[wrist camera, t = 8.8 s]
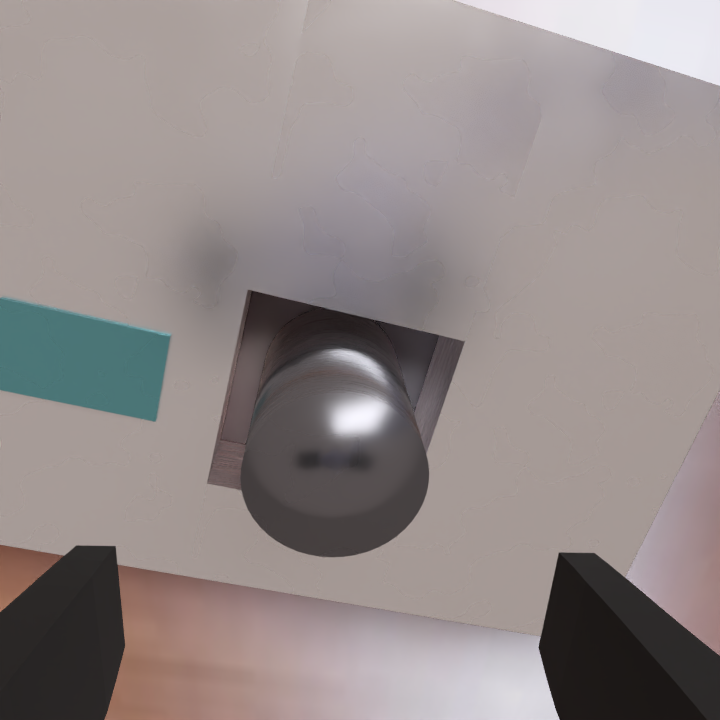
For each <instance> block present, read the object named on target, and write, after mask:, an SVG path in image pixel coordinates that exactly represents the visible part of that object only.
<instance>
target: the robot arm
mask: <svg viewBox="0 0 720 720" xmlns="http://www.w3.org/2000/svg"><path fill="white" fill-rule="evenodd" d="M124 648H125V640H124V630H123V619H122V608H121V597H120V587H119V576H118V565H117V555H116V546H81V545H76V546H75V547H74V548H73V549H72V550H70V551H69V552H68V553H67V554H66V555H65V556H63V557H62V558H61V559H60V560H59V561H58V562H56V563H55V564H54V565H53V566H52V567H51V568H50V569H49V570H47V571H46V572H45V573H44V574H43V575H42V576H41V577H40V578H38V579H37V580H36V581H35V582H34V583H33V584H32V585H31V586H29V587H28V588H27V589H26V590H25V591H24V592H23V593H22V594H20V595H19V596H18V597H17V598H16V599H15V600H14V601H13V602H11V603H10V604H9V605H8V606H7V607H6V608H5V609H4V610H2V611H1V612H0V720H104V719H105V716H106V714H107V711H108V707H109V704H110V700H111V697H112V693H113V690H114V686H115V682H116V679H117V675H118V671H119V667H120V663H121V660H122V656H123V652H124ZM539 650H540V654H541V658H542V662H543V666H544V669H545V673H546V677H547V681H548V684H549V688H550V691H551V695H552V698H553V701H554V705H555V708H556V711H557V714H558V716H559V719H560V720H720V656H719V655H718V654H717V653H715V652H714V651H713V650H712V649H710V648H709V647H708V646H707V645H705V644H704V643H703V642H702V641H700V640H699V639H698V638H697V637H695V636H694V635H693V634H692V633H691V632H689V631H688V630H687V629H686V628H684V627H683V626H682V625H681V624H680V623H678V622H677V621H676V620H675V619H674V618H672V617H671V616H670V615H669V614H668V613H666V612H665V611H664V610H663V609H662V608H660V607H659V606H658V605H657V604H656V603H655V602H653V601H652V600H651V599H650V598H649V597H647V596H646V595H645V594H644V593H643V592H642V591H640V590H639V589H638V588H637V587H636V586H634V585H633V584H632V583H631V582H630V581H628V580H627V579H626V578H625V577H624V576H623V575H621V574H620V573H619V572H618V571H617V570H615V569H614V568H613V567H612V566H610V565H609V564H608V563H607V562H605V561H604V560H603V559H602V558H600V557H599V556H598V555H596V554H595V553H565V552H559V554H558V558H557V563H556V568H555V573H554V577H553V582H552V587H551V591H550V596H549V601H548V605H547V610H546V615H545V620H544V624H543V629H542V634H541V638H540V643H539Z"/></svg>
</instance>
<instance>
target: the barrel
mask: <svg viewBox="0 0 720 720" xmlns="http://www.w3.org/2000/svg"><path fill="white" fill-rule="evenodd" d="M240 481H241V490H242V494H243V498H244V501H245V504H246V506H247V509H248V511H249V512H250V514H251V516H252V517H253V519H254V520H255V521H256V523H257V524H258V525H259V526H260V528H261V529H263V530H264V531H265V532H266V533H267V534H268V535H269V536H270V537H272V538H273V539H274V540H276V541H277V542H279V543H281V544H282V545H284V546H286V547H288V548H290V549H293V550H295V551H298V552H301V553H305V554H308V555H313V556H319V557H346V556H353V555H357V554H361V553H365V552H368V551H371V550H373V549H376V548H378V547H380V546H382V545H384V544H386V543H388V542H389V541H391V540H392V539H394V538H395V537H396V536H398V535H399V534H400V533H401V532H402V531H403V530H405V529H406V528H407V526H408V525H409V524H410V523H411V522H412V521H413V519H414V518H415V516H416V515H417V514H418V512H419V510H420V508H421V506H422V504H423V502H424V499H425V496H426V494H427V489H428V484H429V465H428V459H427V455H426V452H425V448H424V445H423V442H422V438H421V435H420V432H419V428H418V425H417V422H416V419H415V415H414V412H413V409H412V406H411V402H410V399H409V396H408V392H407V389H406V386H405V383H404V379H403V376H402V373H401V369H400V366H399V363H398V360H397V356H396V353H395V350H394V348H393V345H392V343H391V341H390V340H389V338H388V336H387V335H386V334H385V332H384V331H383V330H382V329H381V328H380V327H379V326H378V325H377V324H376V323H374V322H373V321H372V320H370V319H369V318H365V317H361V316H357V315H352V314H348V313H344V312H340V311H336V310H332V309H327V308H324V309H317V310H313V311H310V312H307V313H304V314H302V315H300V316H298V317H296V318H294V319H293V320H291V321H290V322H289V323H287V324H286V325H285V326H284V327H283V328H282V329H281V330H280V331H279V332H278V333H277V335H276V336H275V337H274V339H273V341H272V343H271V344H270V346H269V349H268V352H267V355H266V359H265V363H264V368H263V372H262V377H261V381H260V386H259V390H258V394H257V399H256V403H255V408H254V412H253V416H252V421H251V425H250V430H249V434H248V438H247V443H246V447H245V452H244V456H243V460H242V465H241V475H240Z"/></svg>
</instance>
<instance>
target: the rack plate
mask: <svg viewBox="0 0 720 720" xmlns="http://www.w3.org/2000/svg"><path fill="white" fill-rule="evenodd" d="M252 291H256V292H260V293H264V294H269V295H273V296H277V297H281V298H285V299H290V300H294V301H298V302H302V303H306V304H311V305H315V306H319V307H323V308H327V309H332V310H336V311H340V312H344V313H348V314H352V315H357V316H361V317H365V318H369V319H373V320H378V321H382V322H386V323H390V324H394V325H399V326H403V327H407V328H411V329H415V330H419V331H424V332H428V333H432V334H436V335H439V338H438V341H437V344H436V347H435V350H434V353H433V357H432V360H431V363H430V366H429V369H428V372H427V375H426V378H425V381H424V384H423V387H422V390H421V393H420V396H419V399H418V402H417V405H416V409H415V412H414V415H415V419H416V422H417V425H418V428H419V432H420V435H421V438H422V442H423V445H424V448H425V452H426V455H427V459H428V465H429V484H428V489H427V494H426V496H425V499H424V502H423V504H422V506H421V508H420V510H419V512H418V514H417V515H416V516H415V518H414V519H413V521H412V522H411V523H410V524H409V525H408V526H407V528H406V529H405V530H403V531H402V532H401V533H400V534H399V535H398V536H396V537H395V538H394V539H392V540H391V541H389V542H388V543H386V544H384V545H382V546H380V547H378V548H376V549H373V550H371V551H368V552H365V553H361V554H357V555H353V556H346V557H319V556H313V555H308V554H305V553H301V552H298V551H295V550H293V549H290V548H288V547H286V546H284V545H282V544H281V543H279V542H277V541H276V540H274V539H273V538H272V537H270V536H269V535H268V534H267V533H266V532H265V531H264V530H263V529H261V528H260V526H259V525H258V524H257V523H256V521H255V520H254V519H253V517H252V516H251V514H250V512H249V511H248V509H247V506H246V504H245V501H244V498H243V494H242V490H241V481H240V475H241V465H242V460H243V456H244V452H245V447H246V445H245V444H241V443H236V442H231V441H226V440H221V434H222V430H223V425H224V420H225V416H226V411H227V406H228V401H229V397H230V392H231V387H232V383H233V378H234V373H235V369H236V364H237V359H238V354H239V350H240V345H241V340H242V336H243V331H244V326H245V322H246V317H247V312H248V307H249V303H250V298H251V293H252ZM719 390H720V86H718V85H715V84H712V83H709V82H706V81H703V80H699V79H696V78H693V77H690V76H687V75H684V74H681V73H678V72H675V71H671V70H668V69H665V68H662V67H659V66H656V65H653V64H650V63H647V62H643V61H640V60H637V59H634V58H631V57H628V56H625V55H622V54H619V53H615V52H612V51H609V50H606V49H603V48H600V47H597V46H594V45H591V44H587V43H584V42H581V41H578V40H575V39H572V38H569V37H566V36H563V35H559V34H556V33H553V32H550V31H547V30H544V29H541V28H538V27H535V26H531V25H528V24H525V23H522V22H519V21H516V20H513V19H510V18H507V17H503V16H500V15H497V14H494V13H491V12H488V11H485V10H482V9H479V8H475V7H472V6H469V5H466V4H463V3H460V2H457V1H454V0H0V545H5V546H11V547H17V548H23V549H29V550H35V551H41V552H46V553H52V554H58V555H64V556H65V555H66V554H67V553H68V552H69V551H70V550H72V549H73V548H74V547H75V546H76V545H81V546H116V555H117V565H123V566H129V567H135V568H141V569H147V570H153V571H159V572H164V573H170V574H176V575H182V576H188V577H194V578H200V579H206V580H212V581H217V582H223V583H229V584H235V585H241V586H247V587H253V588H259V589H265V590H271V591H276V592H282V593H288V594H294V595H300V596H306V597H312V598H318V599H324V600H330V601H335V602H341V603H347V604H353V605H359V606H365V607H371V608H377V609H383V610H389V611H394V612H400V613H406V614H412V615H418V616H424V617H430V618H436V619H442V620H447V621H453V622H459V623H465V624H471V625H477V626H483V627H489V628H495V629H501V630H506V631H512V632H518V633H524V634H530V635H536V636H541V634H542V629H543V624H544V620H545V615H546V610H547V605H548V601H549V596H550V591H551V587H552V582H553V577H554V573H555V568H556V563H557V558H558V554H559V552H565V553H595V554H596V555H598V556H599V557H600V558H602V559H603V560H604V561H605V562H607V563H608V564H609V565H610V566H612V567H613V568H614V569H615V570H617V571H618V572H619V573H620V574H621V575H623V576H624V577H625V576H626V574H627V572H628V570H629V568H630V566H631V564H632V562H633V560H634V558H635V556H636V554H637V552H638V550H639V548H640V546H641V544H642V542H643V540H644V539H645V537H646V535H647V533H648V531H649V529H650V527H651V525H652V523H653V521H654V519H655V517H656V515H657V513H658V511H659V509H660V507H661V505H662V503H663V501H664V499H665V497H666V495H667V493H668V491H669V489H670V487H671V485H672V483H673V481H674V479H675V477H676V475H677V473H678V471H679V469H680V467H681V465H682V463H683V461H684V459H685V457H686V455H687V453H688V451H689V449H690V447H691V445H692V443H693V442H694V440H695V438H696V436H697V434H698V432H699V430H700V428H701V426H702V424H703V422H704V420H705V418H706V416H707V414H708V412H709V410H710V408H711V406H712V404H713V402H714V400H715V398H716V396H717V394H718V392H719Z"/></svg>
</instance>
